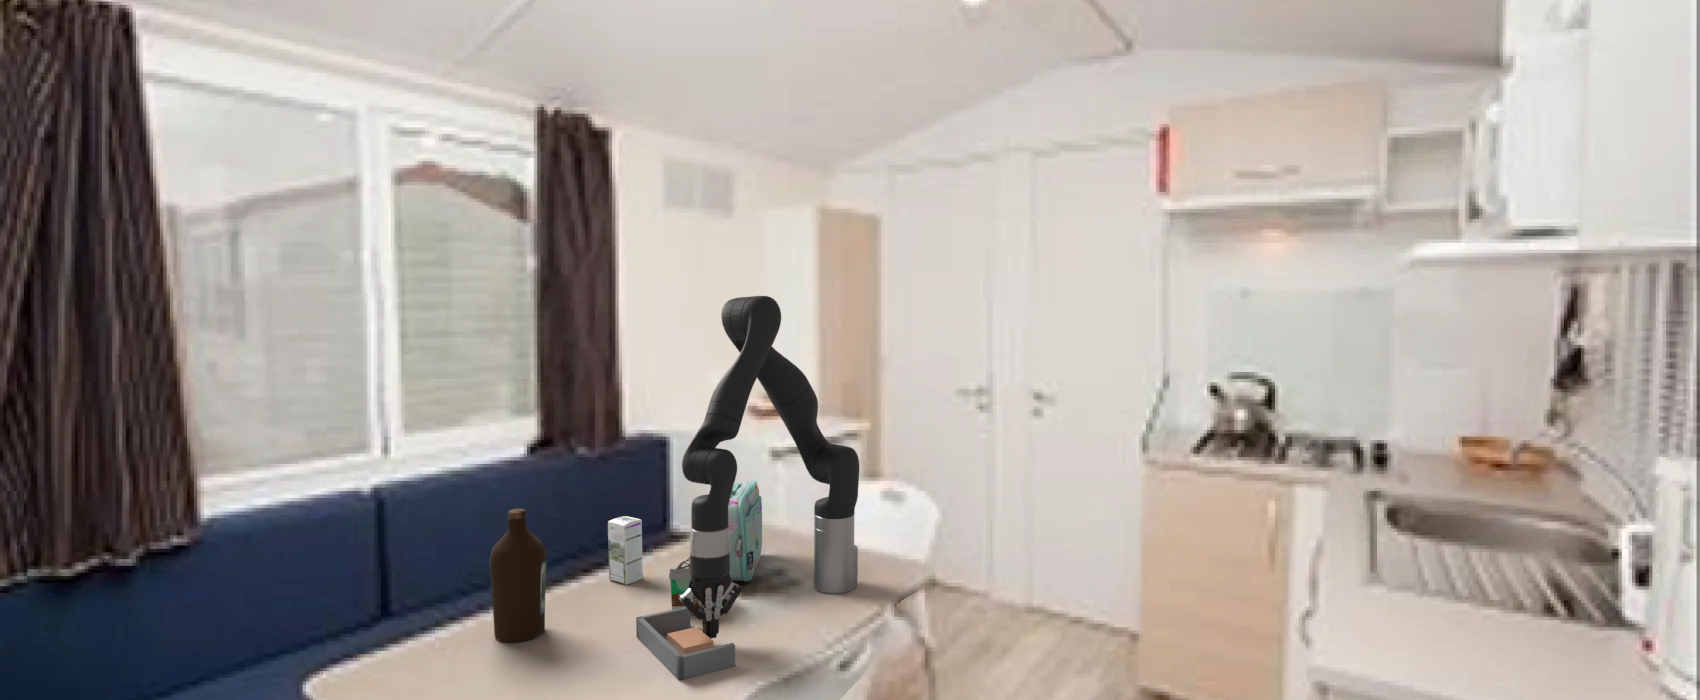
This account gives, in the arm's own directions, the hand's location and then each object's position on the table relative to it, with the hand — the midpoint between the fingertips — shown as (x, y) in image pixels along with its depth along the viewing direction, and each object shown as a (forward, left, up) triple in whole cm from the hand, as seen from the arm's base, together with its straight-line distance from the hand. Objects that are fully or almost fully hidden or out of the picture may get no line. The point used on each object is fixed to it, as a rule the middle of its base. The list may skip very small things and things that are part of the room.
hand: (710, 636), depth 170 cm
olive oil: (+30, -25, -2) cm, 39 cm away
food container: (-5, -20, -2) cm, 21 cm away
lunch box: (-23, -36, -2) cm, 43 cm away
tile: (+4, 0, -2) cm, 5 cm away
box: (+5, 0, -2) cm, 5 cm away
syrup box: (+2, -44, -2) cm, 44 cm away
